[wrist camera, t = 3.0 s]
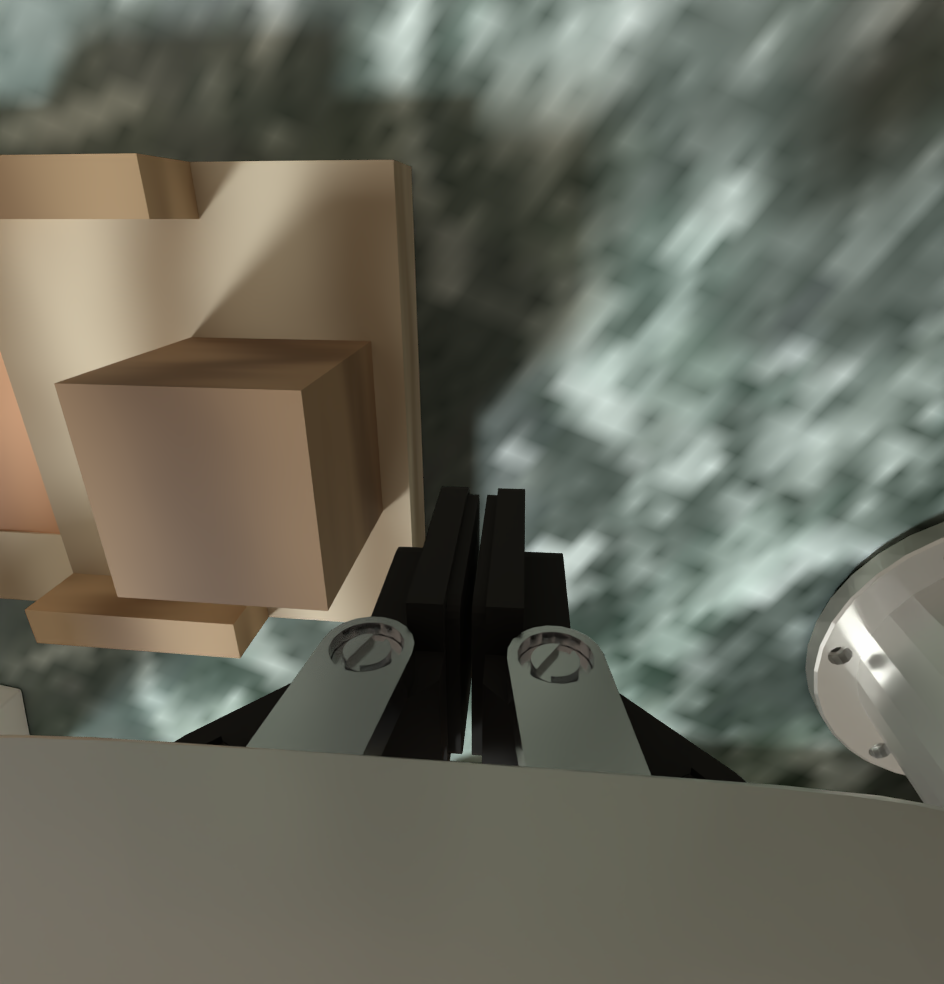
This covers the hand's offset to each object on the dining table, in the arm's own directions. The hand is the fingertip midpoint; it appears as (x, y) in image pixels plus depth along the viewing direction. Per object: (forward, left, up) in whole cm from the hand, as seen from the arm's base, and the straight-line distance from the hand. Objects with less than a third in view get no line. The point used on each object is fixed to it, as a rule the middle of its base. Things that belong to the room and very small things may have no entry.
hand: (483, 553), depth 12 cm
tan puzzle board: (+16, 0, -11) cm, 19 cm away
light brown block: (+7, 0, -8) cm, 11 cm away
